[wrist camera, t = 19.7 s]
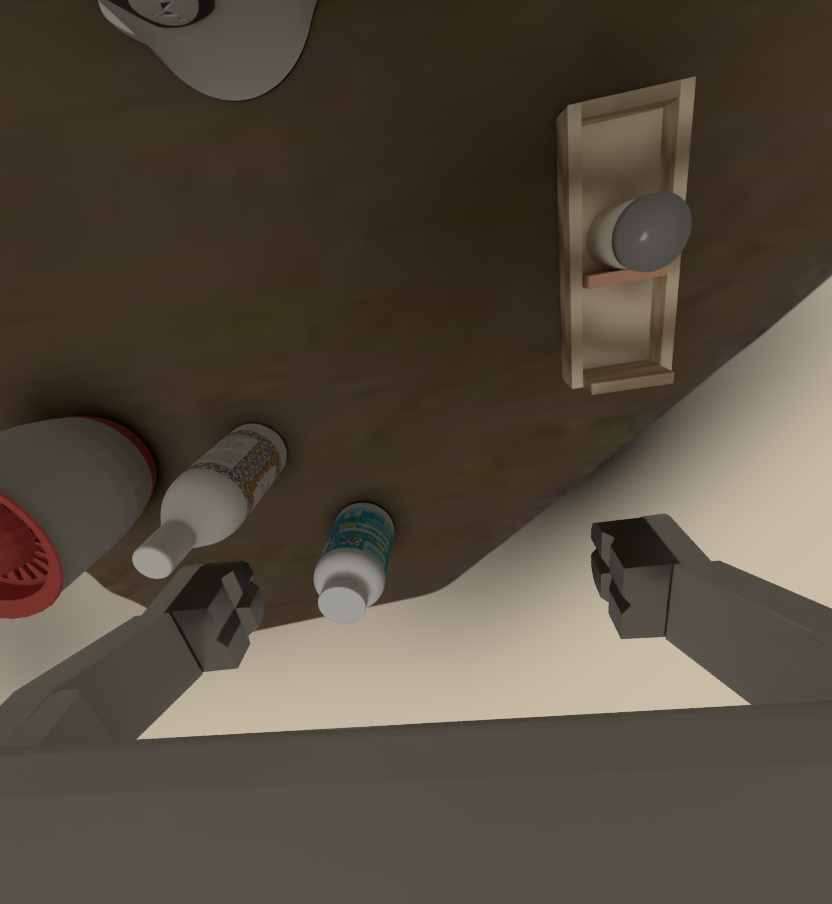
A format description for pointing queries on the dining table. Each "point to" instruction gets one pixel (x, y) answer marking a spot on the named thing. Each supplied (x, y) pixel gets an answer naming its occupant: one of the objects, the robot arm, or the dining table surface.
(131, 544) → the dining table surface
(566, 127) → the wooden tray
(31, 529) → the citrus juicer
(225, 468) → the bath foam
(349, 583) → the pill bottle
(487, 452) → the dining table surface
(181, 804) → the robot arm
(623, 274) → the block
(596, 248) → the cream jar
